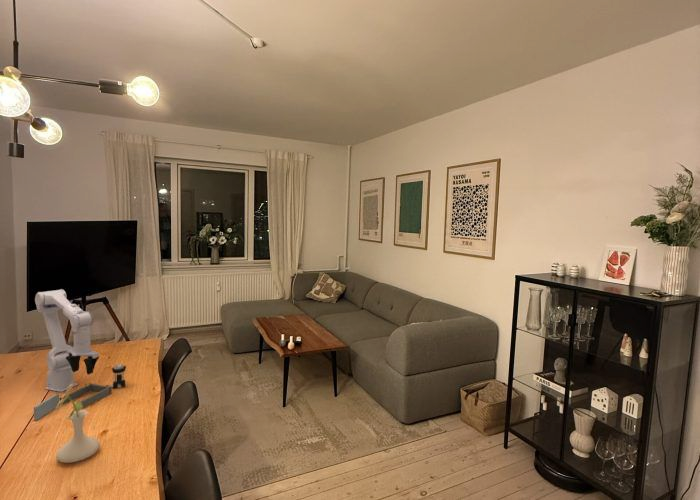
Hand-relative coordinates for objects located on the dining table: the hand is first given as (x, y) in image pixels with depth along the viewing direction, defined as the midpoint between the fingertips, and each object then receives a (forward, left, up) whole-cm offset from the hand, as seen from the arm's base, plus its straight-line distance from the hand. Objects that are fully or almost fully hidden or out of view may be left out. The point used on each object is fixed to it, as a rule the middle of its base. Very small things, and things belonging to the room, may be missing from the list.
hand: (82, 372), depth 156 cm
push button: (+7, +11, -11) cm, 17 cm away
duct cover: (0, -15, -10) cm, 18 cm away
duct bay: (+4, -2, -10) cm, 11 cm away
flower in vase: (+35, -32, -11) cm, 49 cm away
